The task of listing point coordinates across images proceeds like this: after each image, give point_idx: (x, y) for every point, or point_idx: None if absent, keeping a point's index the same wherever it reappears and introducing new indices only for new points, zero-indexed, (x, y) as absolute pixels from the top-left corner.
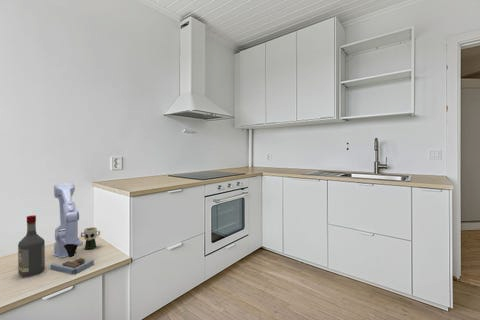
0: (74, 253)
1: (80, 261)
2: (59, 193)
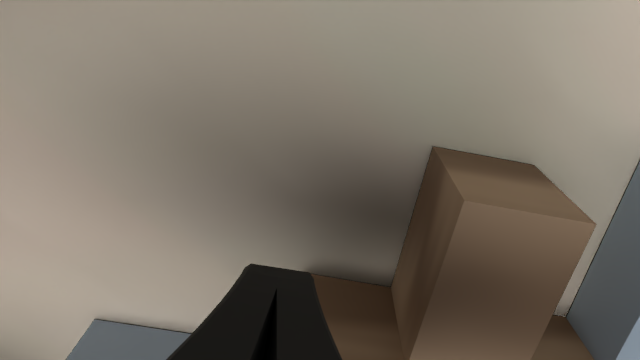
0: (319, 317)
1: (546, 302)
2: None
